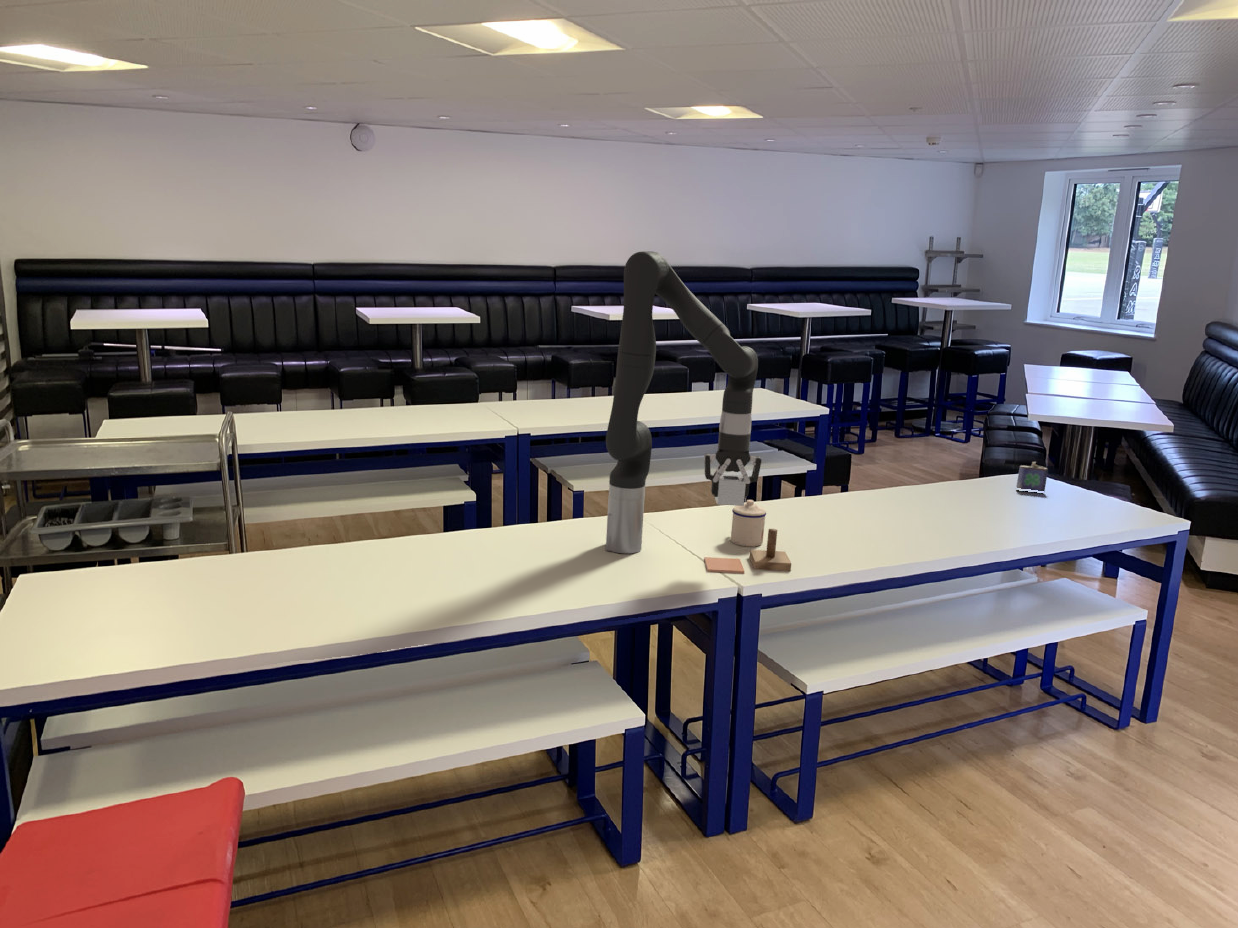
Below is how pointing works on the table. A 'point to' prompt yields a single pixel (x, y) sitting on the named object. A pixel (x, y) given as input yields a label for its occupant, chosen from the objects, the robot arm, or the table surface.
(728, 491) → the grey square nut
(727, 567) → the tile
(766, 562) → the post block
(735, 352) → the robot arm
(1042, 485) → the flask
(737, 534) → the beige lidded canister
